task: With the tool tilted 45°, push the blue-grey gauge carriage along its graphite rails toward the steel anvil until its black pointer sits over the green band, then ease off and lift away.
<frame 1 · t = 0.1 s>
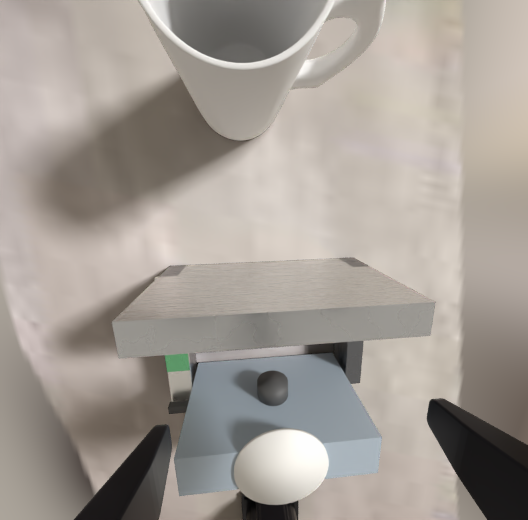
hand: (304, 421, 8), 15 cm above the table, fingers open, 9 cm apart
mug: (260, 97, 19), on the table
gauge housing: (265, 313, 23), on the table
gauge carriage: (261, 410, 20), point 5 cm above the table, slide at 0.0 cm
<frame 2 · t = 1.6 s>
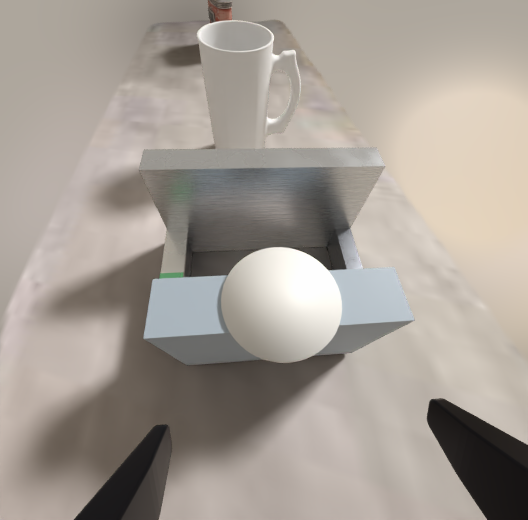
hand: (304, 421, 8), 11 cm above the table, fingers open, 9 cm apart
mug: (252, 153, 33), on the table
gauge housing: (263, 275, 24), on the table
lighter: (222, 51, 47), on the table
gauge carriage: (259, 324, 16), point 5 cm above the table, slide at 0.0 cm
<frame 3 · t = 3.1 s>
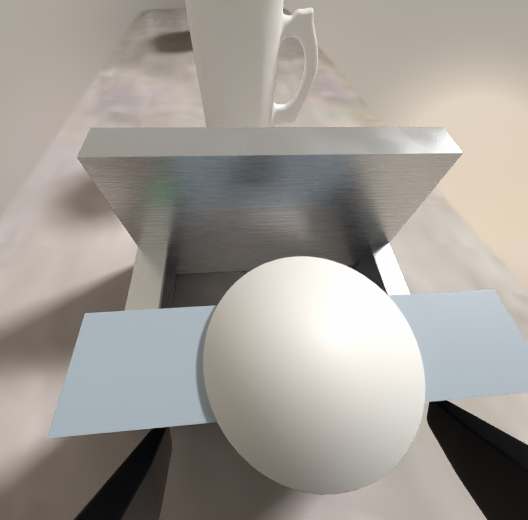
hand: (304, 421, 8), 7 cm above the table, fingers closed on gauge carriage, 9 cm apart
mug: (255, 149, 27), on the table
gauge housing: (271, 306, 18), on the table
gauge carriage: (268, 372, 11), point 5 cm above the table, slide at 1.2 cm, touching gripper
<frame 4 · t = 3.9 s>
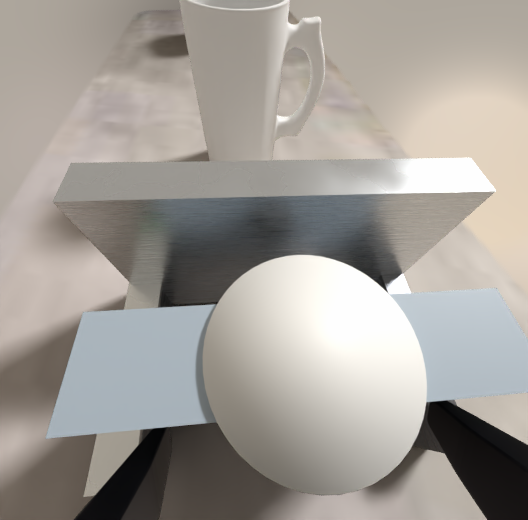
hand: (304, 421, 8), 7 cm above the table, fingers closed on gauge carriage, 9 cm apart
mug: (257, 162, 26), on the table
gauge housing: (275, 342, 16), on the table
gauge carriage: (268, 372, 11), point 5 cm above the table, slide at 3.7 cm, touching gripper
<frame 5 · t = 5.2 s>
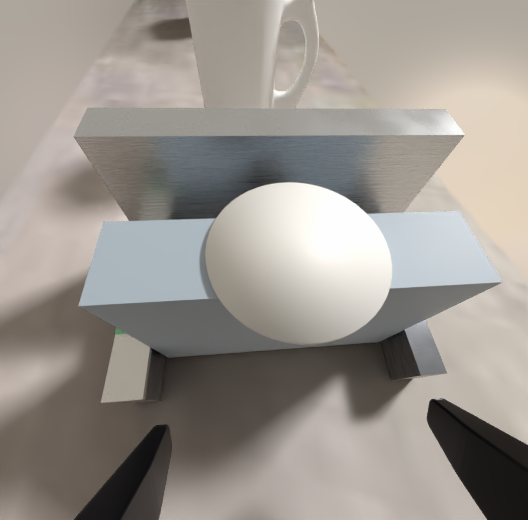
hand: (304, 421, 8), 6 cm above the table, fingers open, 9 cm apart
mug: (255, 137, 27), on the table
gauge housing: (271, 294, 18), on the table
gauge carriage: (263, 300, 12), point 5 cm above the table, slide at 3.7 cm
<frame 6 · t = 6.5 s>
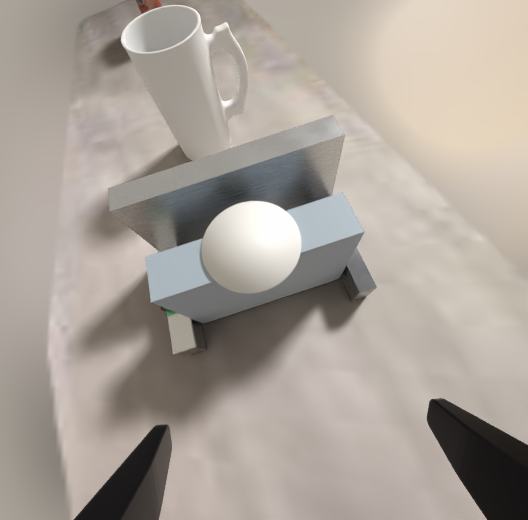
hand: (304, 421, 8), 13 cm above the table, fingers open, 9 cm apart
mug: (220, 141, 32), on the table
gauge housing: (260, 265, 25), on the table
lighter: (159, 30, 43), on the table
gauge carriage: (248, 273, 19), point 5 cm above the table, slide at 3.7 cm
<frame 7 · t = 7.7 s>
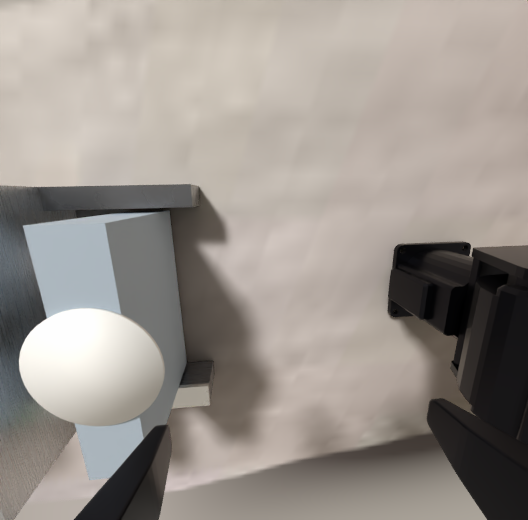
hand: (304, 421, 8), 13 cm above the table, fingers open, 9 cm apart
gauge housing: (131, 293, 20), on the table
gauge carriage: (138, 335, 16), point 5 cm above the table, slide at 3.7 cm
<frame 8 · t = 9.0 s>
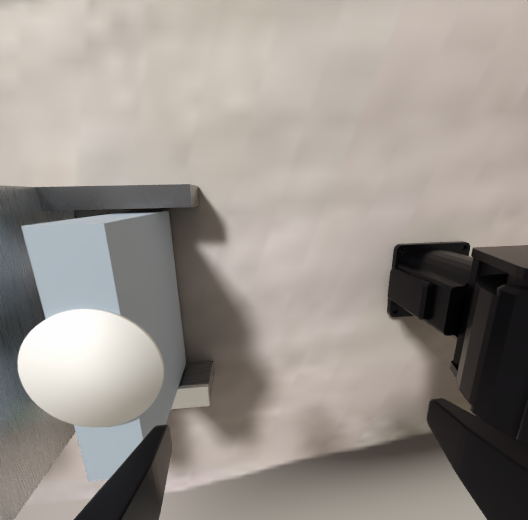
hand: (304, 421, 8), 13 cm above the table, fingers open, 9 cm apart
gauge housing: (131, 293, 20), on the table
gauge carriage: (137, 335, 16), point 5 cm above the table, slide at 3.7 cm
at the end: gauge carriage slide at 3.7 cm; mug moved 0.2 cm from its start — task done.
